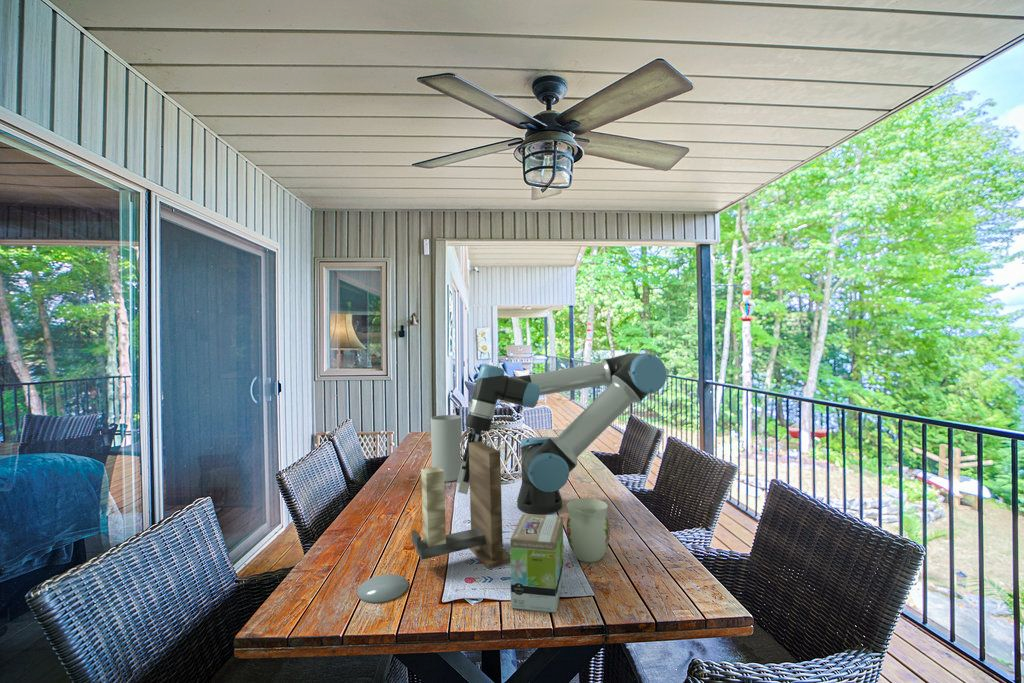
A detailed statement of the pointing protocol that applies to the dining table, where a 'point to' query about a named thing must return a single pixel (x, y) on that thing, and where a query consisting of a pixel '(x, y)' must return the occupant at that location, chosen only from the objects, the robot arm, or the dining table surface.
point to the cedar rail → (433, 506)
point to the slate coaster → (382, 588)
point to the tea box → (537, 563)
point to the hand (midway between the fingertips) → (461, 488)
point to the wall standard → (477, 513)
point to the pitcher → (588, 528)
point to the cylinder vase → (446, 445)
